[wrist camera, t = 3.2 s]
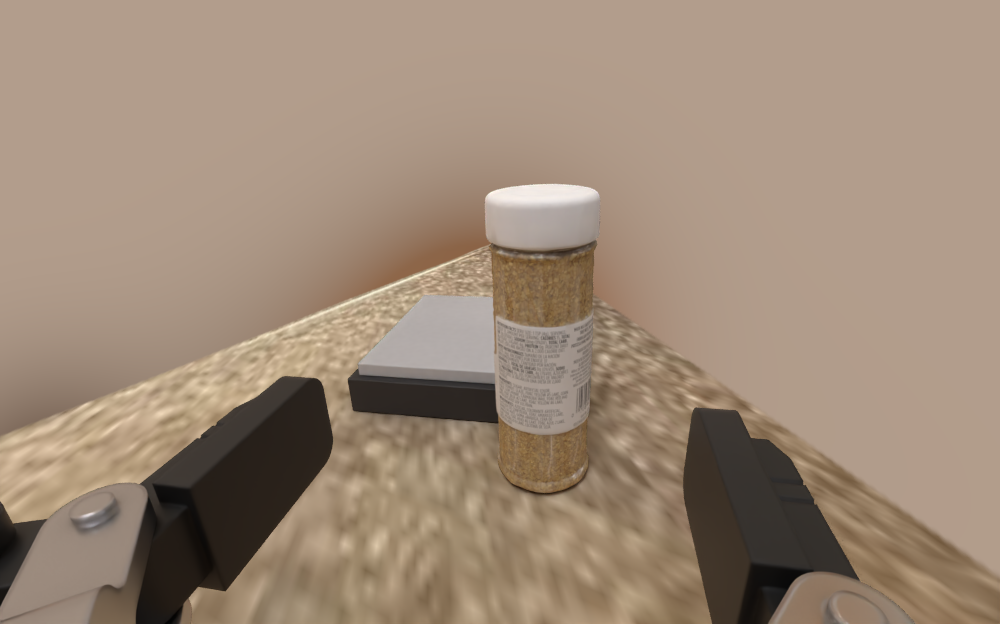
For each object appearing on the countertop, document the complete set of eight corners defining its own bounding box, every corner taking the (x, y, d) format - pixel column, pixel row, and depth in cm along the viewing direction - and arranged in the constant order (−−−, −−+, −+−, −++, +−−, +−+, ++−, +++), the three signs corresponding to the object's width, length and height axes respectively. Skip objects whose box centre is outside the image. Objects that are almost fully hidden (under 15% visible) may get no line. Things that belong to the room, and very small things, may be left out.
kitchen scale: (578, 330, 39) (579, 295, 37) (569, 429, 26) (570, 382, 25) (425, 323, 41) (422, 290, 40) (352, 410, 29) (345, 367, 28)
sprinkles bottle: (530, 426, 27) (526, 179, 22) (605, 457, 24) (621, 184, 19) (478, 472, 23) (459, 193, 18) (558, 514, 21) (562, 200, 16)
